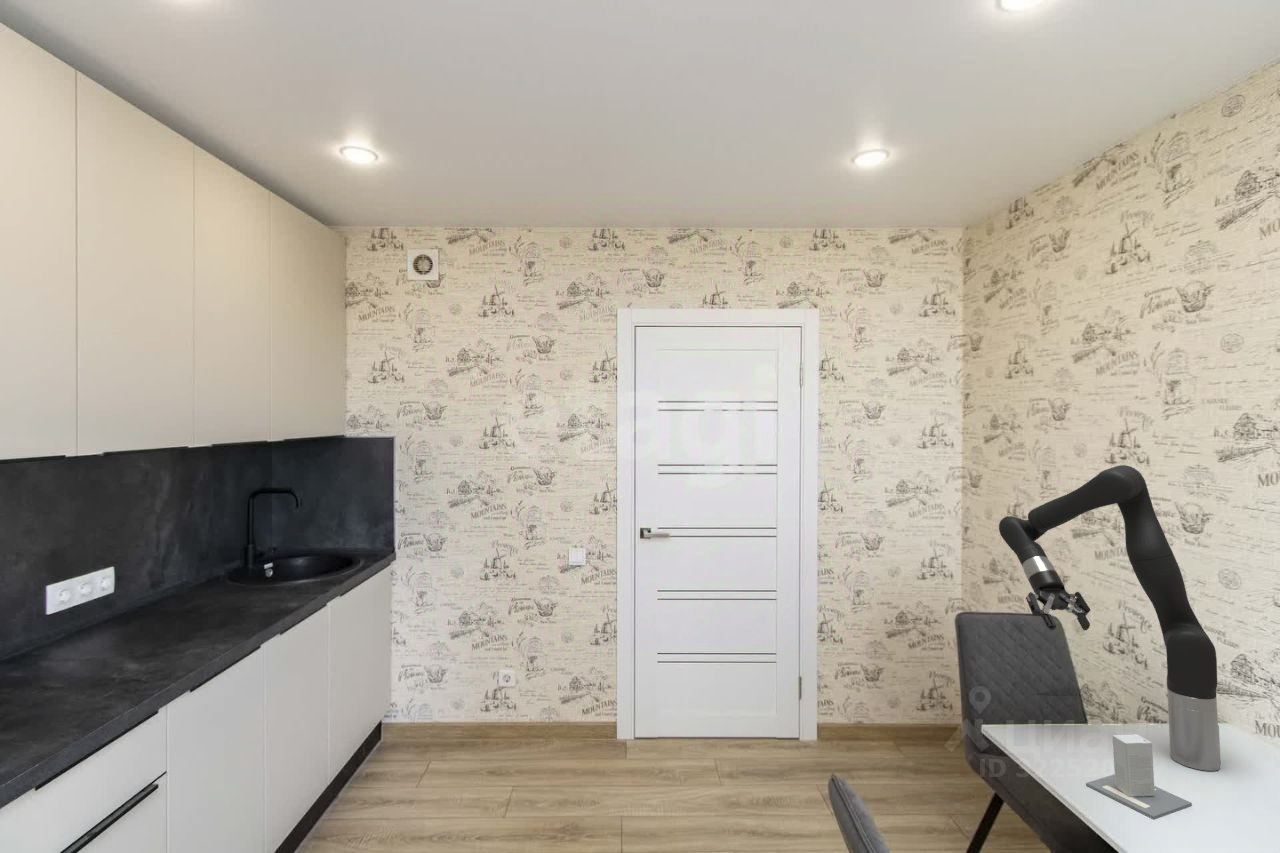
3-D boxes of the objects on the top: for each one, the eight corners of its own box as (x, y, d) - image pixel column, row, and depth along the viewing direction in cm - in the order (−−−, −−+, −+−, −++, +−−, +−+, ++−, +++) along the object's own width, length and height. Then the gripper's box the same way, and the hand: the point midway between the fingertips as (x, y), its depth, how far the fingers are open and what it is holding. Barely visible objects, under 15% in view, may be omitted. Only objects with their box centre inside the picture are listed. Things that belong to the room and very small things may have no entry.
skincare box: (1139, 786, 142) (1137, 733, 142) (1155, 796, 138) (1153, 742, 138) (1113, 786, 142) (1111, 734, 142) (1128, 797, 137) (1126, 743, 138)
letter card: (1123, 774, 148) (1122, 771, 148) (1191, 805, 135) (1191, 802, 135) (1086, 785, 144) (1085, 782, 144) (1153, 819, 130) (1153, 816, 131)
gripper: (1021, 569, 173) (1048, 622, 161) (1073, 568, 172) (1104, 621, 160) (1012, 583, 178) (1037, 636, 166) (1062, 583, 177) (1091, 635, 165)
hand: (1070, 628), depth 163 cm, fingers open, 8 cm apart
